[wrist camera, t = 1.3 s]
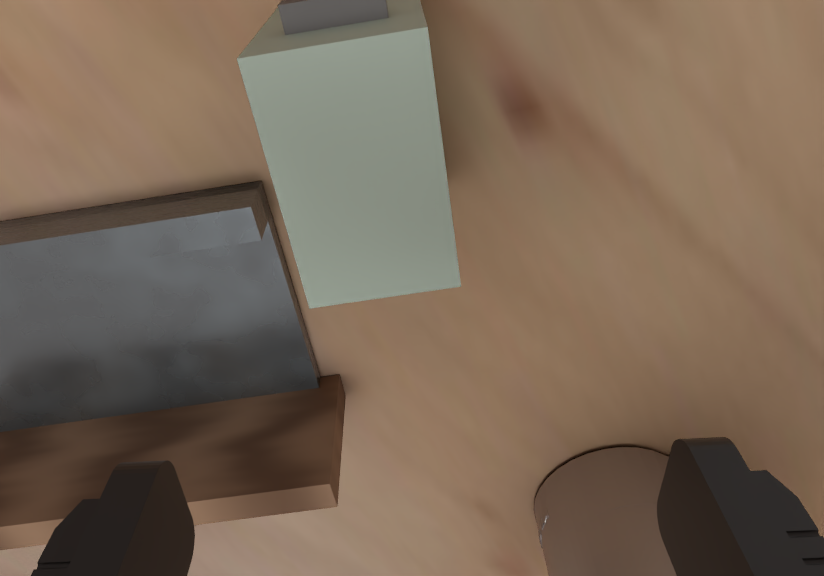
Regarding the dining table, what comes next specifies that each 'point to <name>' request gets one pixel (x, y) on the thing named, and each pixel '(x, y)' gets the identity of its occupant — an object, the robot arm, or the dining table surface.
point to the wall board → (181, 459)
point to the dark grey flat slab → (147, 308)
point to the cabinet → (354, 146)
